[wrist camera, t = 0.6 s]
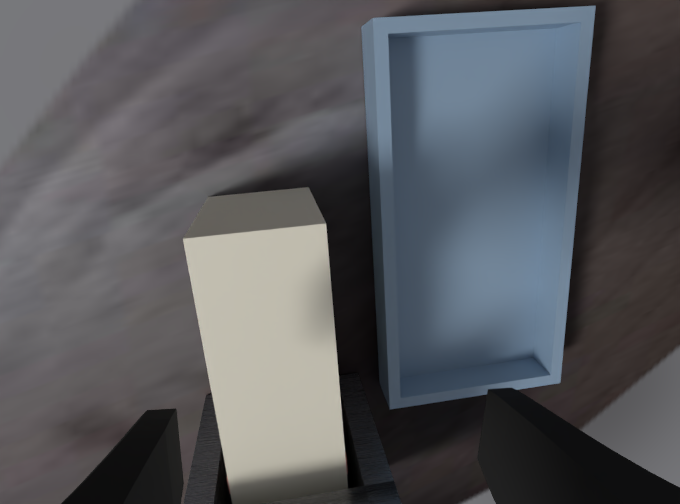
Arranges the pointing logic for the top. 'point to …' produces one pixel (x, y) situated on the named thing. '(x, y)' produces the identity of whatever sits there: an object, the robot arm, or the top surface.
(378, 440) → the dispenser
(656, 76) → the top surface
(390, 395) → the tray
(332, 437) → the block
